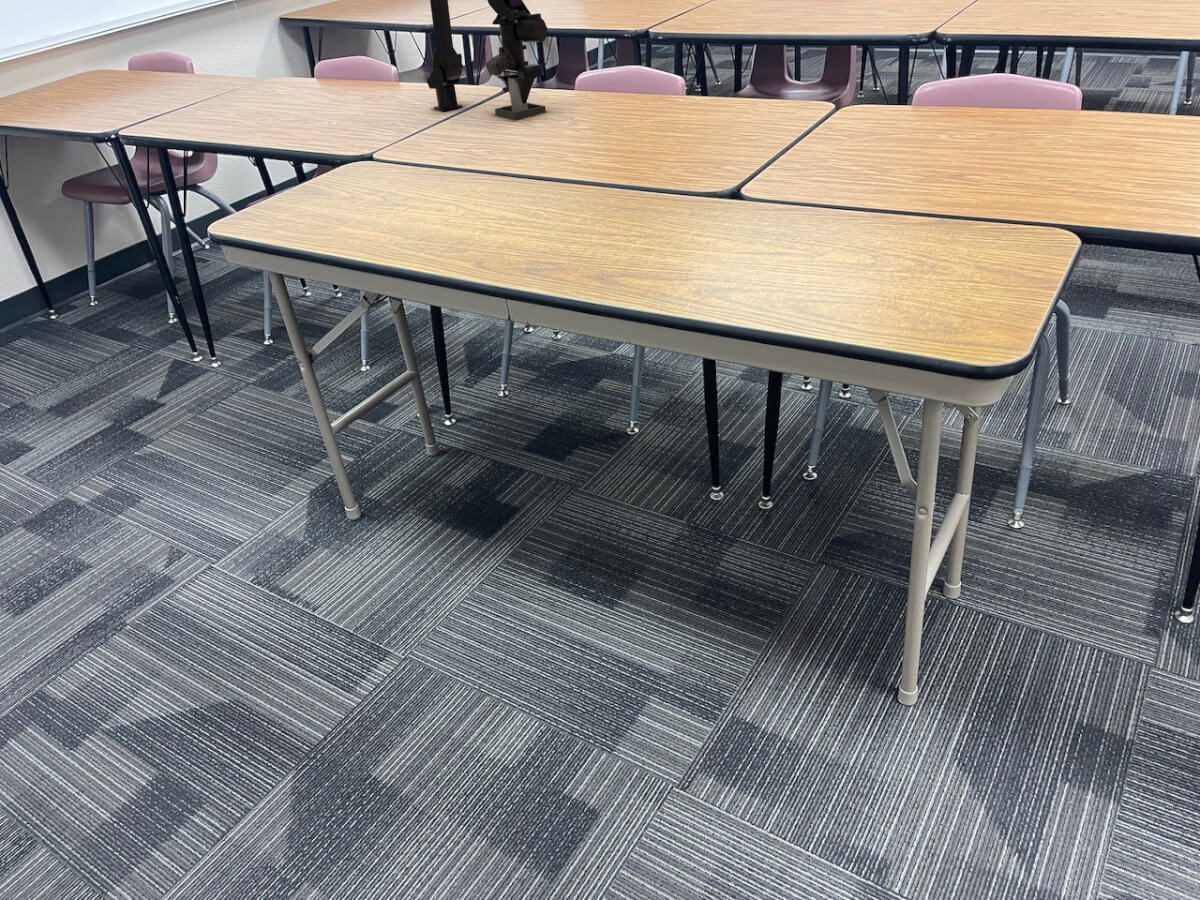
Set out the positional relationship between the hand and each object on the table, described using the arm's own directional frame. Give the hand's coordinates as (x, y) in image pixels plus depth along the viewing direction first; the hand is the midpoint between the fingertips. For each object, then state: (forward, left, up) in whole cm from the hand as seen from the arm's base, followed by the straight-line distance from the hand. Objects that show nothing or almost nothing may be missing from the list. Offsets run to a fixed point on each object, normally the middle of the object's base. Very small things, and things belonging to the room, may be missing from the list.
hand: (519, 102), depth 240 cm
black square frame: (0, 0, -3) cm, 3 cm away
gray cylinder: (0, 0, -3) cm, 3 cm away
